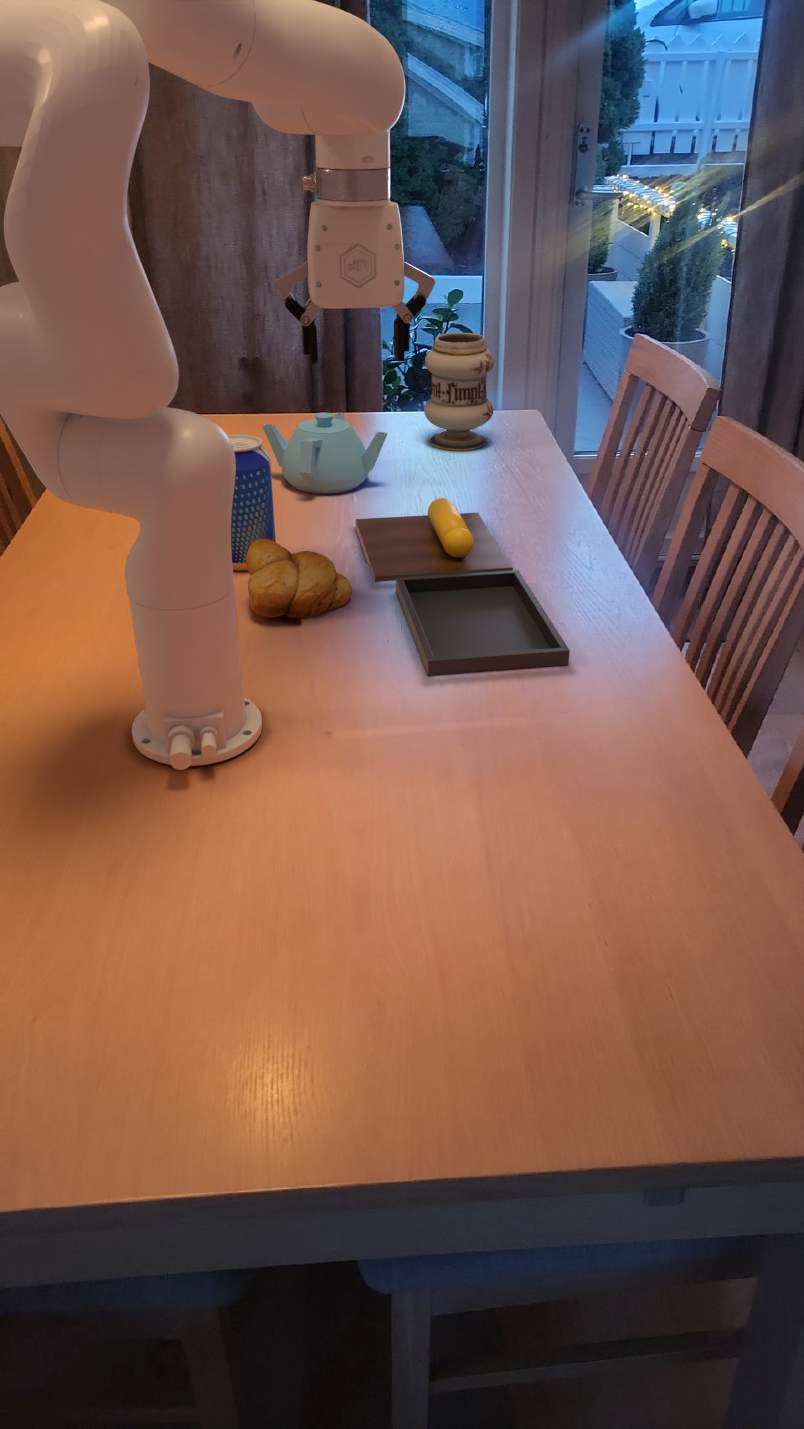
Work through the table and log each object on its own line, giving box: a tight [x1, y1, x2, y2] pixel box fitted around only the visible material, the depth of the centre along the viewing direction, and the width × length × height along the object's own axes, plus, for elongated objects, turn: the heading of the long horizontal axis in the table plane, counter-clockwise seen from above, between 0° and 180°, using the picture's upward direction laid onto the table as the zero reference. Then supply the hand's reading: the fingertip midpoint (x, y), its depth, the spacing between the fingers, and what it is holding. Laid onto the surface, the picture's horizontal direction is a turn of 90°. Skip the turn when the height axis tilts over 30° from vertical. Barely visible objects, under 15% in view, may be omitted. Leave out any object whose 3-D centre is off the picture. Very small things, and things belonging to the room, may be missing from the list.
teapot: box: [262, 412, 388, 495], centre depth 162 cm, size 15×15×11 cm
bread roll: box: [246, 538, 353, 619], centre depth 123 cm, size 13×10×8 cm
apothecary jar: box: [423, 332, 495, 452], centre depth 177 cm, size 12×12×18 cm
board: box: [354, 512, 514, 582], centre depth 140 cm, size 20×18×2 cm
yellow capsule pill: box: [427, 497, 474, 558], centre depth 139 cm, size 15×4×4 cm
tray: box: [395, 569, 571, 677], centre depth 119 cm, size 22×16×3 cm
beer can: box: [226, 434, 277, 571], centre depth 133 cm, size 8×8×16 cm
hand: (356, 359), depth 114 cm, fingers open, 9 cm apart
